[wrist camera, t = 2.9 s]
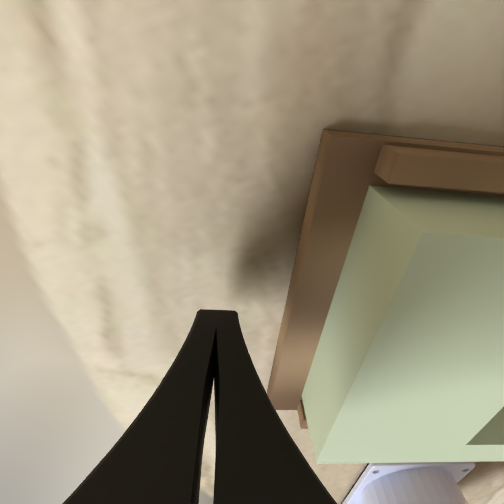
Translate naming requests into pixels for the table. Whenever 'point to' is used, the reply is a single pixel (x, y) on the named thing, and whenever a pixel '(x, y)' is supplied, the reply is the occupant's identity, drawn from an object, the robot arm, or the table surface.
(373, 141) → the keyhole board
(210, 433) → the table surface
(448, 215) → the panel
